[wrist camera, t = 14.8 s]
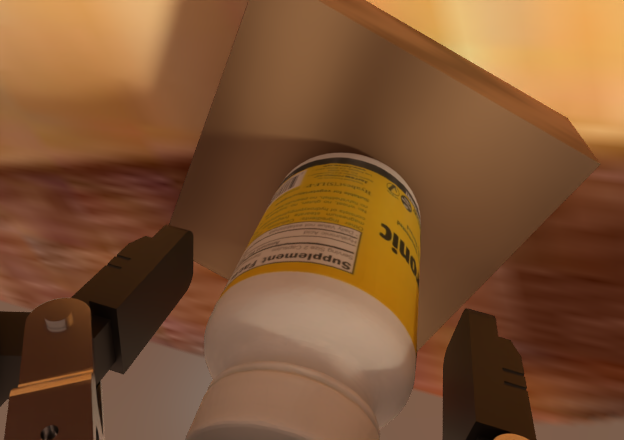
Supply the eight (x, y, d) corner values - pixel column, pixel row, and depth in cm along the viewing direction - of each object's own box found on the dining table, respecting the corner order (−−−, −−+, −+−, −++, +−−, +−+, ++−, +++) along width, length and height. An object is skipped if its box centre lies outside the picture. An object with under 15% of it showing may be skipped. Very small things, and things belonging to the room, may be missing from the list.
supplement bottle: (421, 273, 18) (409, 567, 10) (288, 265, 19) (185, 520, 11) (424, 145, 15) (410, 424, 7) (266, 146, 16) (106, 382, 8)
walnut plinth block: (565, 115, 18) (600, 164, 14) (404, 301, 25) (396, 372, 21) (303, -38, 18) (260, -34, 14) (210, 193, 25) (162, 243, 20)
